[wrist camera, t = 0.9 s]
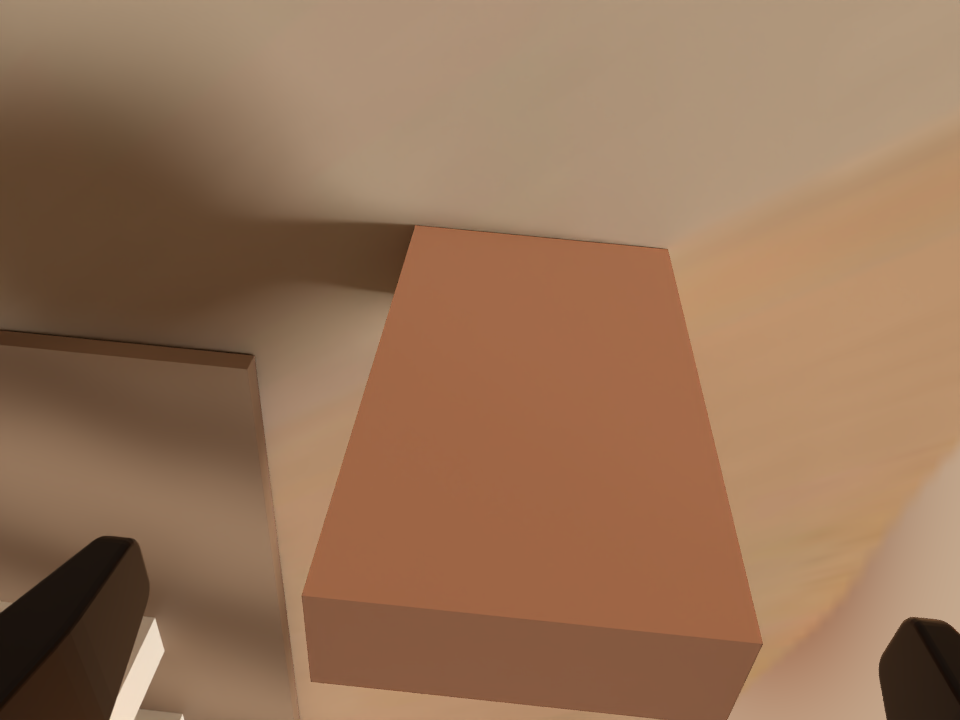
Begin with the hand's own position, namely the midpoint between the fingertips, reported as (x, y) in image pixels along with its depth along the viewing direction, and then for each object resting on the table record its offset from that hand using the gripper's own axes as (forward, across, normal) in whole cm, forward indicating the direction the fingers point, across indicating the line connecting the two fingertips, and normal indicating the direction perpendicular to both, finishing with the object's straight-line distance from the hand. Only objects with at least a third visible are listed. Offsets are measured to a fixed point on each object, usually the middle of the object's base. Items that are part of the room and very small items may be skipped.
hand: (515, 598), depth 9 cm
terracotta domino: (+8, 0, 0) cm, 8 cm away
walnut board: (+8, +12, +18) cm, 23 cm away
